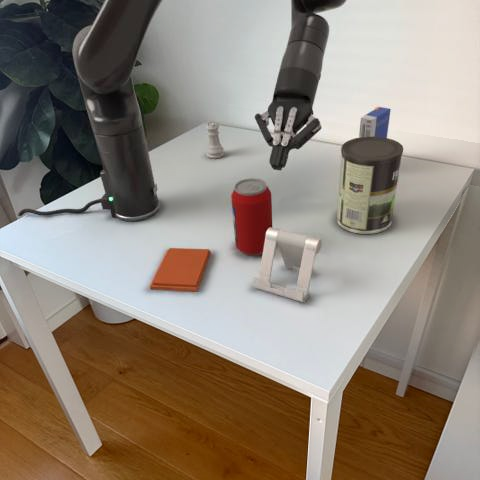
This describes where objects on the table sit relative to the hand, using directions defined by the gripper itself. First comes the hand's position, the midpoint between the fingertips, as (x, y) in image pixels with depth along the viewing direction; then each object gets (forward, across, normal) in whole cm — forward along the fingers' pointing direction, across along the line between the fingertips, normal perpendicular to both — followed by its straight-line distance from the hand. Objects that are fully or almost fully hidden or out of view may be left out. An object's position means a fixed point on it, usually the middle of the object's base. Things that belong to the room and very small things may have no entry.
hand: (276, 168), depth 88 cm
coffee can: (+5, +16, +10) cm, 19 cm away
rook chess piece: (-10, -26, +24) cm, 36 cm away
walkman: (-12, +12, +27) cm, 32 cm away
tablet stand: (+21, +9, -7) cm, 24 cm away
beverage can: (+15, 0, -1) cm, 15 cm away
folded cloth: (+23, -9, -9) cm, 26 cm away
